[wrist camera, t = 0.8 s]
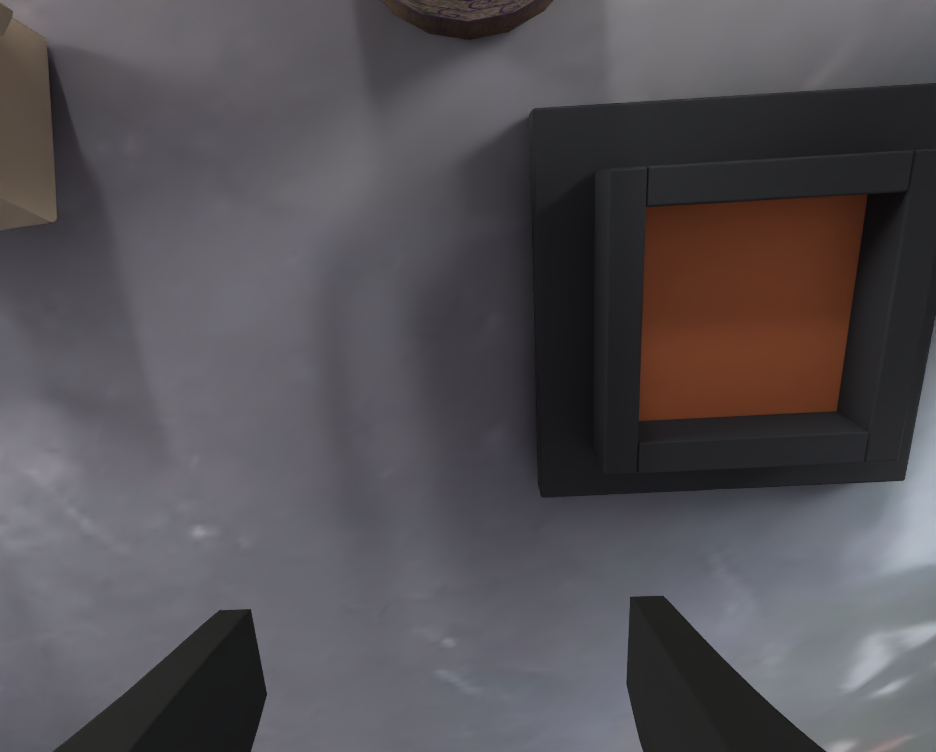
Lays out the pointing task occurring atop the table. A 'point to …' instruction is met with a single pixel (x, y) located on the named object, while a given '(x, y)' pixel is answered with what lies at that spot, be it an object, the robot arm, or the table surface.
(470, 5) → the mug
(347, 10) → the table surface
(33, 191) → the toy character
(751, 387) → the base pad
